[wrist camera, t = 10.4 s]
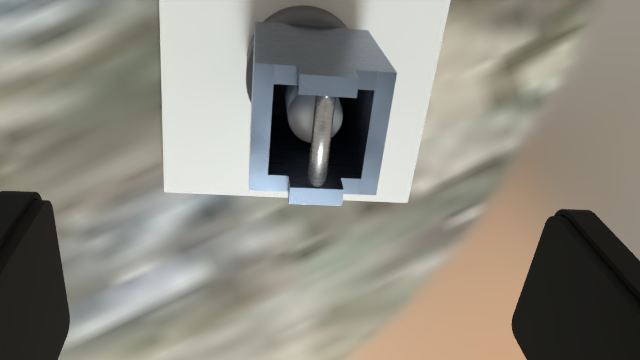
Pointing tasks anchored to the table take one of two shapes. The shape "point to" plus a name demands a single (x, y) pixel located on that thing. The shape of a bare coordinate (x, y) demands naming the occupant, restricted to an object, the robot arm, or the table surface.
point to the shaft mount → (282, 86)
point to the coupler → (319, 112)
